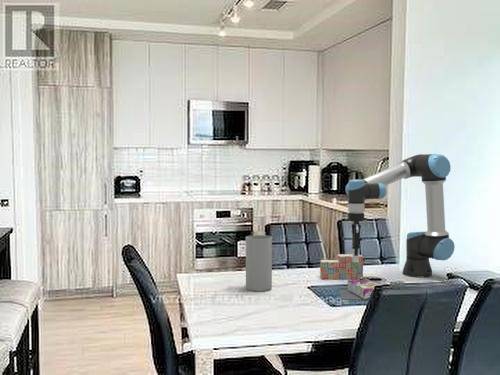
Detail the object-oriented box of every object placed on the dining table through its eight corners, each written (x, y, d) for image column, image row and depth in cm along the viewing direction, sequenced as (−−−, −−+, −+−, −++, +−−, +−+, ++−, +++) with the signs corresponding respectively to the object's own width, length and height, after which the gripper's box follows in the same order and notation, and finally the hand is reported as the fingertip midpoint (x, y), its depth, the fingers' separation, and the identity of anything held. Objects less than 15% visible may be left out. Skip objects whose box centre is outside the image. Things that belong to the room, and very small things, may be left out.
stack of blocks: (321, 280, 264) (321, 256, 263) (320, 277, 270) (320, 254, 269) (363, 279, 264) (363, 256, 263) (360, 277, 270) (360, 254, 269)
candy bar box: (368, 278, 243) (386, 287, 227) (368, 288, 243) (386, 298, 227) (347, 279, 240) (363, 288, 224) (346, 290, 240) (363, 299, 224)
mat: (373, 290, 240) (373, 290, 240) (378, 300, 224) (378, 299, 224) (338, 290, 242) (338, 289, 242) (341, 299, 225) (341, 299, 225)
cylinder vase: (269, 292, 238) (269, 239, 237) (243, 291, 240) (243, 238, 239) (273, 286, 250) (273, 235, 249) (248, 285, 253) (248, 234, 251)
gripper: (346, 210, 246) (346, 259, 247) (349, 213, 233) (348, 264, 234) (362, 211, 245) (362, 259, 247) (366, 213, 232) (365, 265, 234)
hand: (355, 262), depth 241 cm, fingers closed
